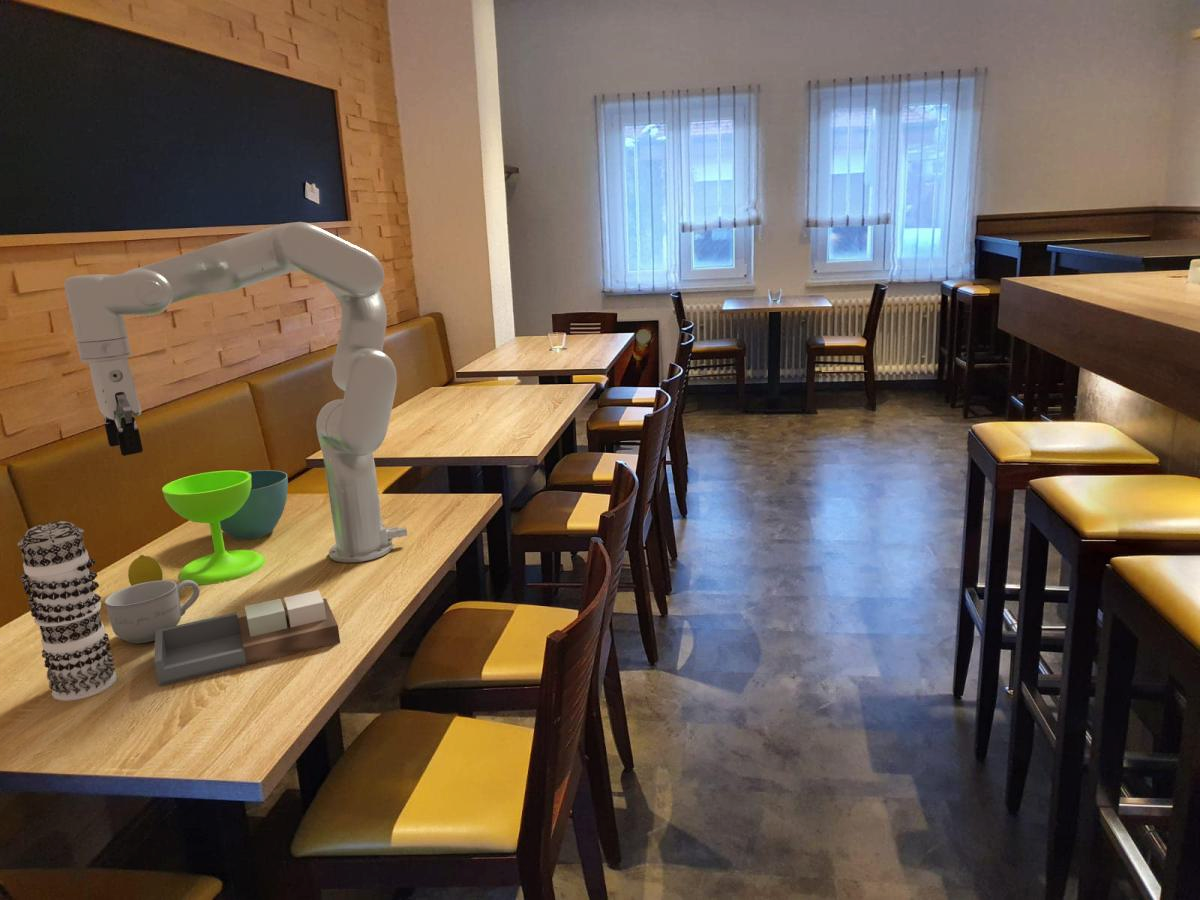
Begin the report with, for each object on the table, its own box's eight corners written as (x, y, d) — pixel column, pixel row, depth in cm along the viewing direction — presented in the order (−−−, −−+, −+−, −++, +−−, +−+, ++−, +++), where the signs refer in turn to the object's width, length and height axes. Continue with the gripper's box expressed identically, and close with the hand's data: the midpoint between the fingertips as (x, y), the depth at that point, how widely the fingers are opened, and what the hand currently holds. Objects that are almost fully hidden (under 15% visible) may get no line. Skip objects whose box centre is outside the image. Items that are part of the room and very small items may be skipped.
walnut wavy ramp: (328, 614, 147) (325, 598, 146) (340, 642, 137) (337, 624, 136) (240, 634, 141) (237, 617, 141) (246, 665, 131) (243, 647, 130)
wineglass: (281, 554, 177) (268, 470, 172) (232, 586, 162) (216, 495, 157) (214, 552, 181) (199, 470, 176) (160, 582, 166) (142, 493, 161)
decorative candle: (97, 665, 134) (63, 513, 127) (133, 677, 129) (99, 520, 123) (36, 693, 126) (-4, 533, 120) (71, 707, 121) (32, 542, 115)
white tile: (321, 606, 143) (318, 590, 142) (326, 619, 138) (323, 602, 138) (286, 614, 141) (283, 597, 140) (290, 627, 136) (287, 610, 135)
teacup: (112, 656, 136) (102, 610, 134) (114, 630, 146) (105, 587, 144) (207, 634, 142) (199, 589, 140) (203, 610, 152) (195, 568, 150)
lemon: (152, 602, 157) (144, 561, 154) (126, 601, 158) (117, 560, 156) (172, 589, 162) (164, 550, 160) (147, 588, 163) (139, 549, 161)
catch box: (240, 634, 141) (236, 612, 140) (246, 665, 131) (242, 641, 130) (160, 653, 136) (155, 630, 135) (159, 686, 126) (154, 662, 125)
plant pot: (190, 541, 188) (180, 488, 185) (260, 516, 203) (252, 466, 200) (242, 553, 179) (233, 497, 175) (312, 526, 193) (304, 474, 190)
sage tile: (283, 615, 141) (280, 598, 140) (287, 628, 136) (284, 610, 135) (247, 623, 138) (244, 606, 138) (250, 636, 134) (247, 619, 133)
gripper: (141, 350, 139) (162, 452, 143) (118, 343, 152) (138, 437, 156) (89, 357, 134) (112, 462, 139) (70, 349, 147) (91, 445, 152)
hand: (125, 449), depth 147 cm, fingers open, 9 cm apart
